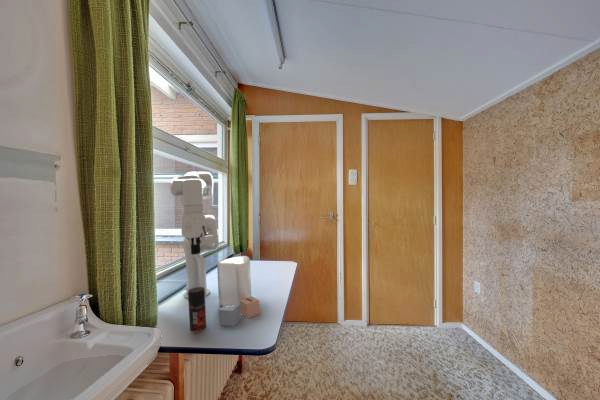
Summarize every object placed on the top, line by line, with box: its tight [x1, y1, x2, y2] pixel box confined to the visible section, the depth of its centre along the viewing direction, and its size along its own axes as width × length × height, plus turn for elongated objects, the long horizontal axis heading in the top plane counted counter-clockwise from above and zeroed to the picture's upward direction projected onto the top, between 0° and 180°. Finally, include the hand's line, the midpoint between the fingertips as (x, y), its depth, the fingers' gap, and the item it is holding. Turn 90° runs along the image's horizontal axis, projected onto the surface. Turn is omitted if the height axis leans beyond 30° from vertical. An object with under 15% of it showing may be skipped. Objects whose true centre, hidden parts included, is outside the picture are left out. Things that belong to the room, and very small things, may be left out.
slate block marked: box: [218, 304, 241, 327], centre depth 107 cm, size 6×6×6 cm
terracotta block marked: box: [240, 295, 261, 319], centre depth 114 cm, size 6×6×6 cm
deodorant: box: [188, 287, 207, 333], centre depth 103 cm, size 6×6×15 cm
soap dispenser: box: [216, 255, 252, 307], centre depth 126 cm, size 15×14×22 cm
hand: (195, 253), depth 109 cm, fingers closed
